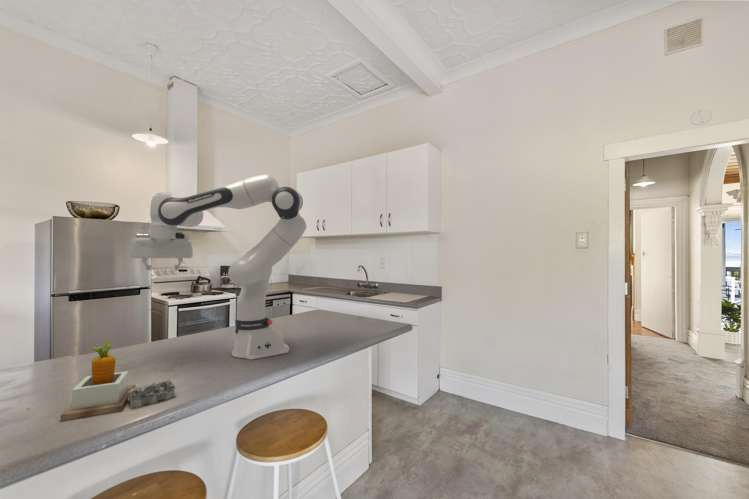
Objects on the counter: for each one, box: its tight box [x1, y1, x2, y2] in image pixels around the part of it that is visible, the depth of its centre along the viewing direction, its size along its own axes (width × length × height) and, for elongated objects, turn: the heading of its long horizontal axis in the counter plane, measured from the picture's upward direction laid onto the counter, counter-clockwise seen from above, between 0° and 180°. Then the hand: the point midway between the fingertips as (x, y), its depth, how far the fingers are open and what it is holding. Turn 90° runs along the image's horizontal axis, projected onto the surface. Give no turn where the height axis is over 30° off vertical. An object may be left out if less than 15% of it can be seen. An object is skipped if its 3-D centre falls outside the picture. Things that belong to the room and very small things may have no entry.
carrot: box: [91, 341, 116, 385], centre depth 86 cm, size 5×5×15 cm
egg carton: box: [127, 378, 177, 409], centre depth 89 cm, size 11×8×4 cm
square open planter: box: [71, 370, 129, 410], centre depth 86 cm, size 9×9×5 cm
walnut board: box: [60, 384, 136, 422], centre depth 86 cm, size 12×14×2 cm
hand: (162, 269), depth 124 cm, fingers open, 8 cm apart
